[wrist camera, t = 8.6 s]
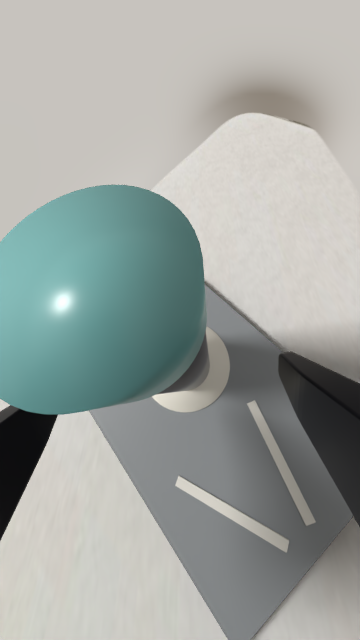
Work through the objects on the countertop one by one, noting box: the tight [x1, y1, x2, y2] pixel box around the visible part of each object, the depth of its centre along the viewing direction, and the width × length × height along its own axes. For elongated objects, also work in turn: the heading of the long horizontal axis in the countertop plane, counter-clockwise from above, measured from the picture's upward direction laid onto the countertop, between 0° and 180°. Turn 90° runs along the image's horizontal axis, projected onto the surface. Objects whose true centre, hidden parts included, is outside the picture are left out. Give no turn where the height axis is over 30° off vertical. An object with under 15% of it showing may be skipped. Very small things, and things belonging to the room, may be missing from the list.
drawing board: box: [89, 285, 353, 640], centre depth 14 cm, size 18×14×1 cm
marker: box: [0, 185, 210, 414], centre depth 9 cm, size 4×4×13 cm
